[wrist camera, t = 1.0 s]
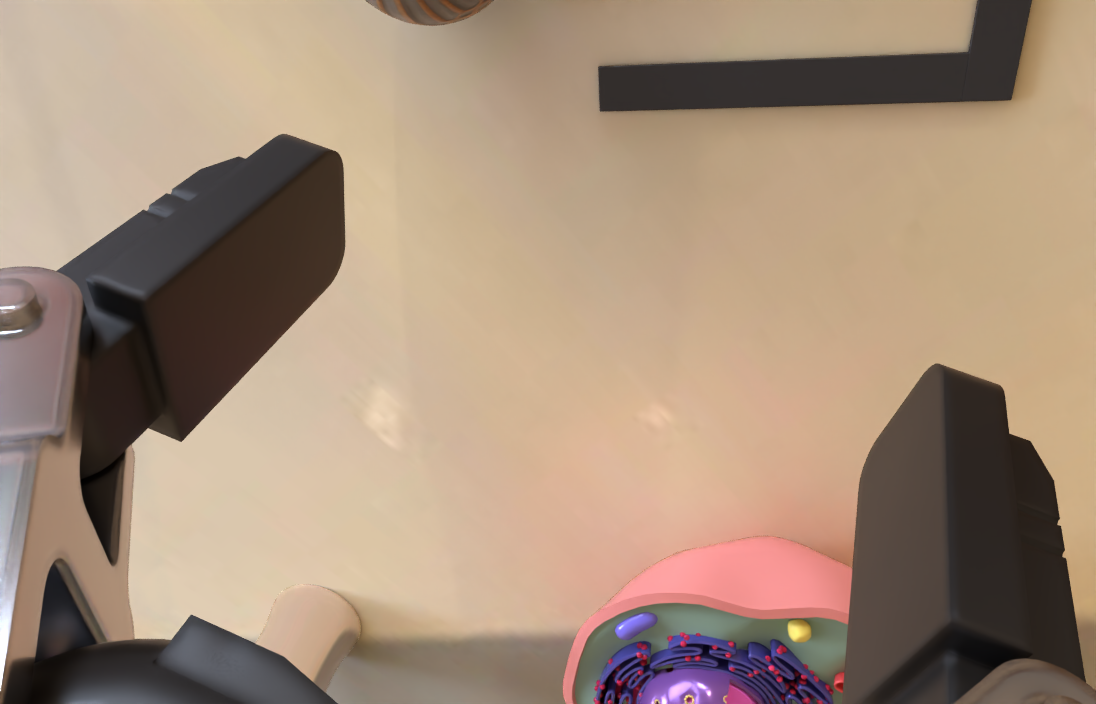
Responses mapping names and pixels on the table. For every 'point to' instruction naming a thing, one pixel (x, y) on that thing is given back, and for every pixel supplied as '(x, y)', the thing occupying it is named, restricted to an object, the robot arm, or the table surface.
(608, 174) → the table surface
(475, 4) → the vase
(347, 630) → the beer glass
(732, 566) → the cell model
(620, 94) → the tape u shape
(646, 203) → the table surface
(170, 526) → the table surface
